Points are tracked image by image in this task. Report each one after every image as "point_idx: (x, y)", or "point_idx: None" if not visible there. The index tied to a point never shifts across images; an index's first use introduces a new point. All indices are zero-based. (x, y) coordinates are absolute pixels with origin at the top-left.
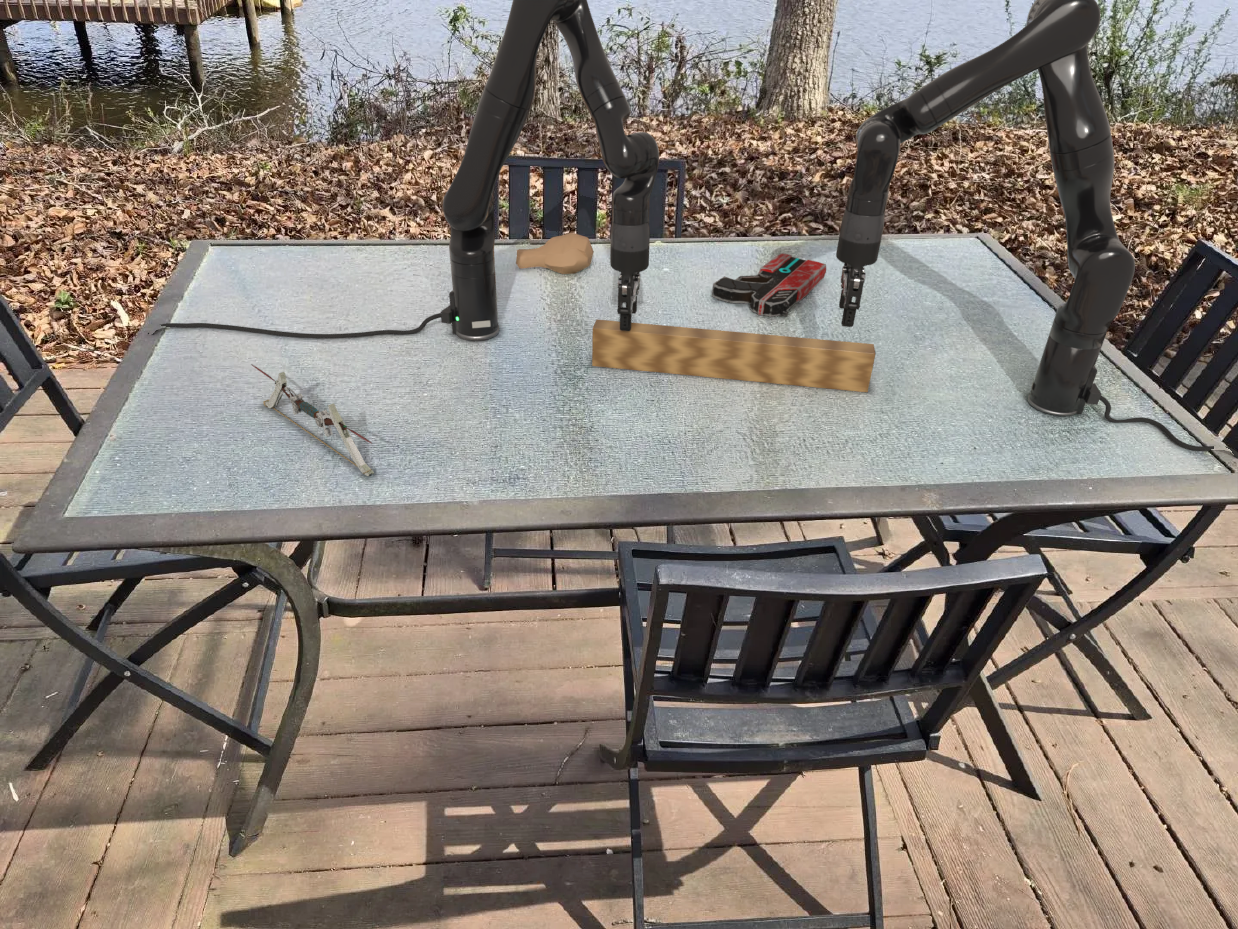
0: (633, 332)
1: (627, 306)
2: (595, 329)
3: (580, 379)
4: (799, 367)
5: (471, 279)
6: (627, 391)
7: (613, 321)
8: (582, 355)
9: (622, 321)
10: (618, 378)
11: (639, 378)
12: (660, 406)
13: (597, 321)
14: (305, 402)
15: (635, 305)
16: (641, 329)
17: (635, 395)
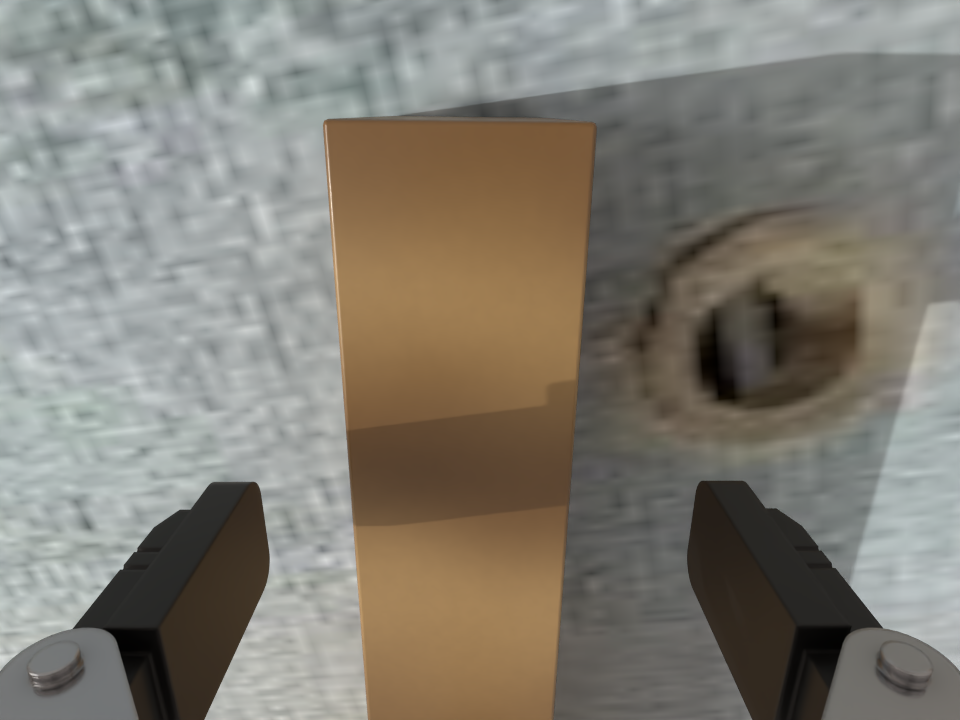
0: (356, 545)
1: (725, 536)
2: (326, 159)
3: (169, 65)
4: None
5: None
6: (130, 392)
7: (558, 337)
8: (551, 3)
9: (117, 588)
10: (270, 320)
11: (308, 435)
12: (44, 563)
13: (532, 149)
14: None
15: (718, 635)
16: (424, 604)
17: (103, 438)
